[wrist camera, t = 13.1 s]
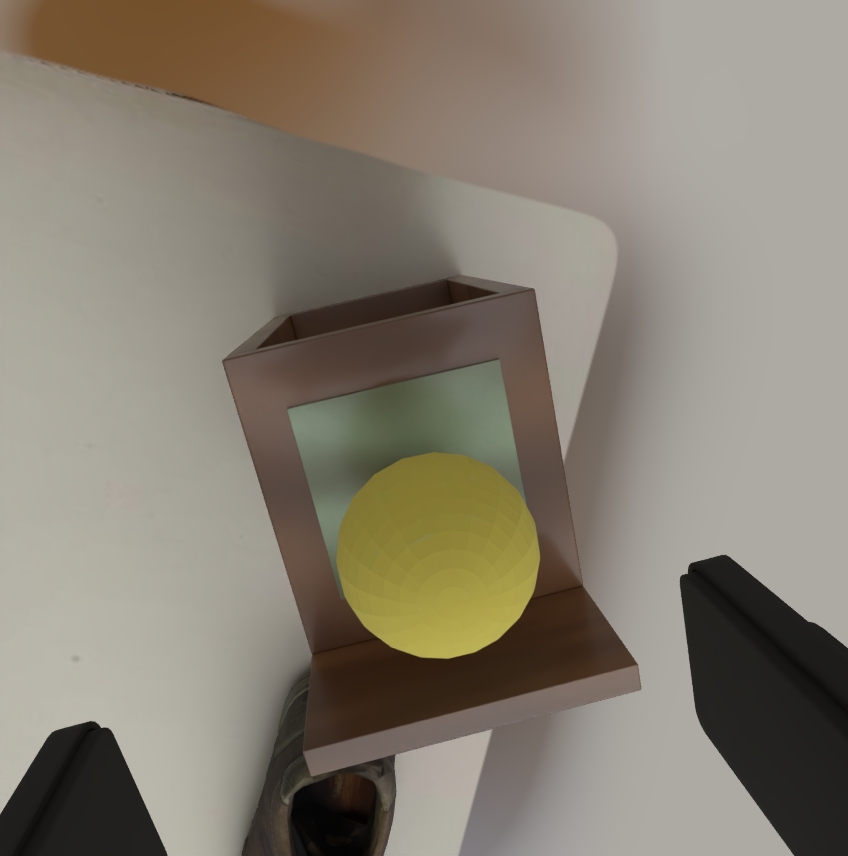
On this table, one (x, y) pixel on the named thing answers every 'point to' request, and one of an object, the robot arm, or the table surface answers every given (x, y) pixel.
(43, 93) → the table surface
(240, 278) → the table surface
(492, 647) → the wooden frame
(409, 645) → the light bulb
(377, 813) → the shoe
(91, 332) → the table surface
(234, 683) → the table surface
